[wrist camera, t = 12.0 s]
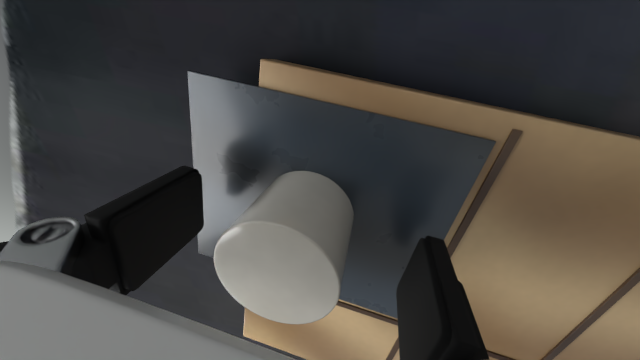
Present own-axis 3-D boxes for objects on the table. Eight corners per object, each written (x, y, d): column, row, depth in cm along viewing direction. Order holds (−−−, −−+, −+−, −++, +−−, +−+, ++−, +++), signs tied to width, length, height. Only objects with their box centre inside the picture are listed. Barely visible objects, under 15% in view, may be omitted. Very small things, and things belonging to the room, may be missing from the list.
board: (212, 45, 11) (185, 42, 10) (915, 194, 8) (1040, 225, 6) (217, 304, 19) (202, 324, 18) (563, 428, 16) (582, 466, 15)
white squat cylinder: (267, 159, 11) (211, 204, 7) (365, 185, 10) (356, 248, 7) (260, 236, 13) (213, 300, 9) (342, 261, 12) (325, 340, 9)
